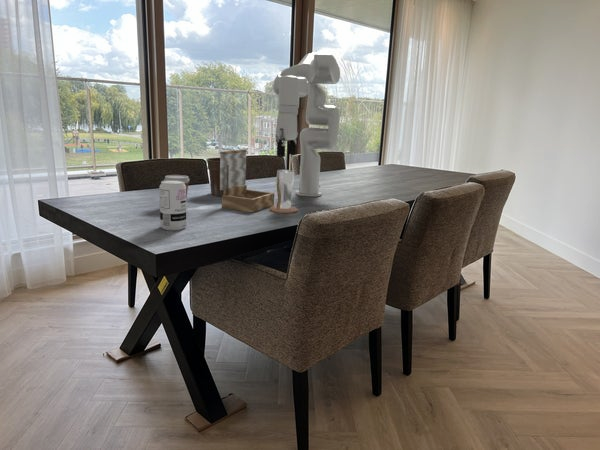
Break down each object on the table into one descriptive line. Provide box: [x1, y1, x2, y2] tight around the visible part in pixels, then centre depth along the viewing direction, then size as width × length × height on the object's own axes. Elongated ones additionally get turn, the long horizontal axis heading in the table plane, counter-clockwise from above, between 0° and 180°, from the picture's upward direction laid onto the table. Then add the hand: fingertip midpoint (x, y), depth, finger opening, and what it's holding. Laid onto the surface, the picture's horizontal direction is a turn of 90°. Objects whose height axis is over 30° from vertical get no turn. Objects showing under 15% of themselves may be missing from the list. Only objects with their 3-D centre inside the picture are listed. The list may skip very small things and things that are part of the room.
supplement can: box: [159, 180, 187, 231], centre depth 144 cm, size 8×8×15 cm
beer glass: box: [275, 169, 295, 210], centre depth 178 cm, size 7×7×15 cm
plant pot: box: [206, 157, 238, 197], centre depth 204 cm, size 16×16×16 cm
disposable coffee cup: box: [163, 174, 190, 200], centre depth 174 cm, size 10×10×12 cm
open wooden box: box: [219, 148, 275, 213], centre depth 182 cm, size 18×15×22 cm
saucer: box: [269, 205, 298, 214], centre depth 180 cm, size 11×11×1 cm
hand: (286, 155), depth 175 cm, fingers open, 9 cm apart
